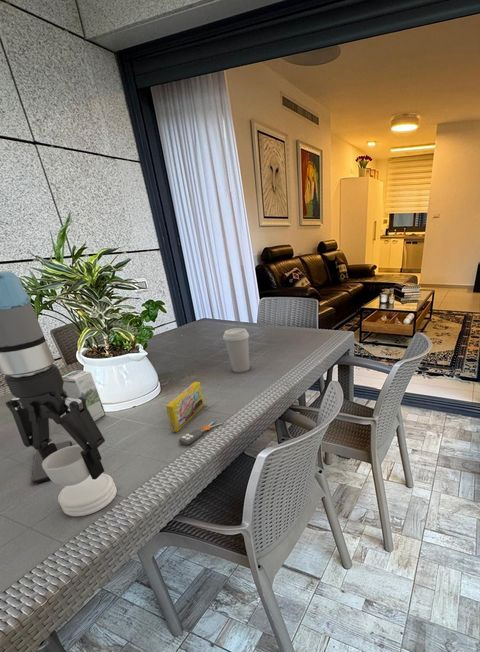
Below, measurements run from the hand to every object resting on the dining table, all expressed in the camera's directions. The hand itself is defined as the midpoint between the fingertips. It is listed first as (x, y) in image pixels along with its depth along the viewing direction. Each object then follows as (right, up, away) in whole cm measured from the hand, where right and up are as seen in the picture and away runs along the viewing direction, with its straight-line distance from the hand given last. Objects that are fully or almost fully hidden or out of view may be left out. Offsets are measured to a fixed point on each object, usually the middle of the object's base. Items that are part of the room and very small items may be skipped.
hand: (79, 474), depth 71 cm
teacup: (0, 0, 0) cm, 0 cm away
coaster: (0, -6, +4) cm, 7 cm away
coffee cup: (+18, +29, +66) cm, 74 cm away
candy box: (+10, +11, +33) cm, 36 cm away
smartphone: (-17, 0, +16) cm, 23 cm away
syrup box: (-20, +10, +35) cm, 41 cm away
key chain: (+16, +7, +26) cm, 31 cm away
